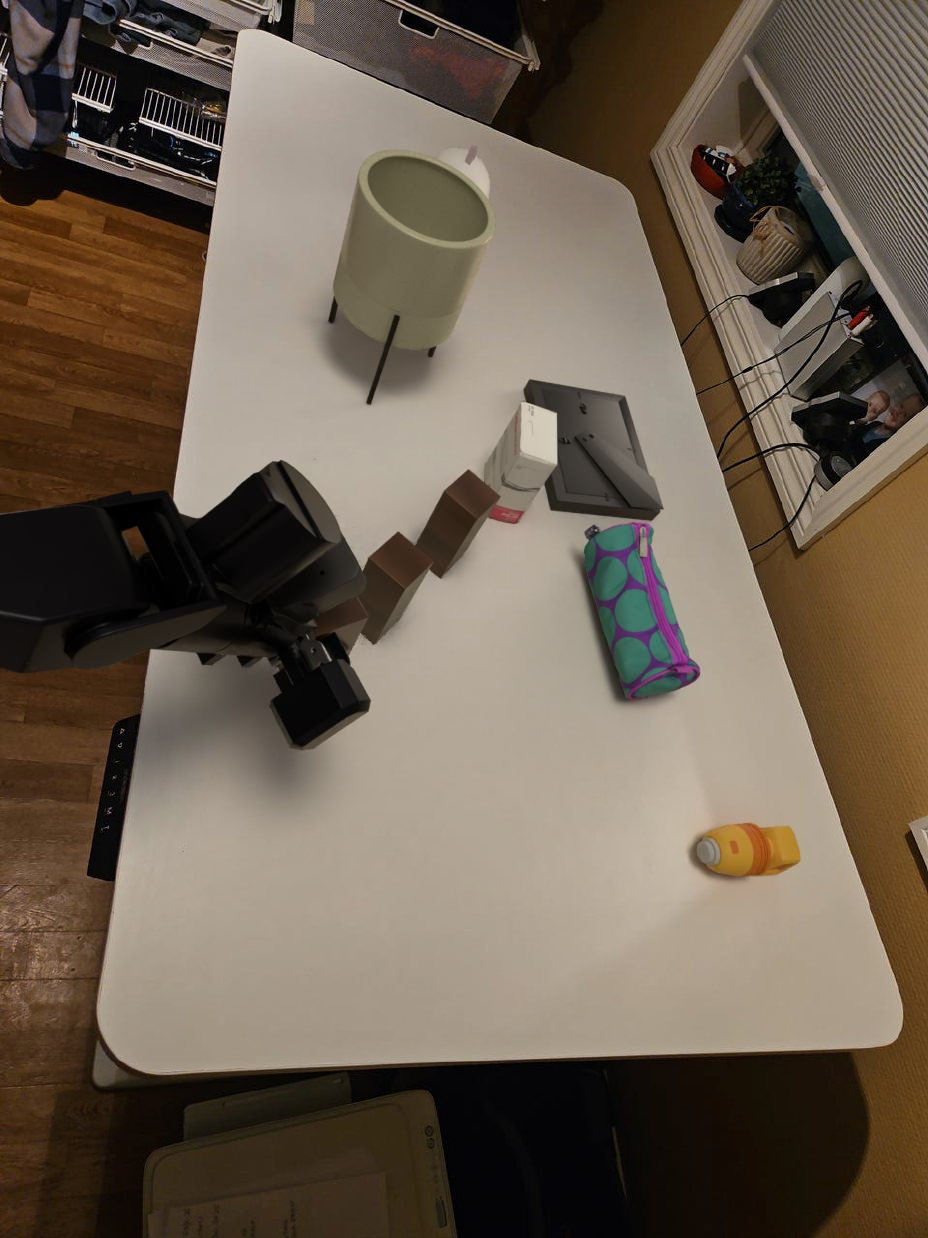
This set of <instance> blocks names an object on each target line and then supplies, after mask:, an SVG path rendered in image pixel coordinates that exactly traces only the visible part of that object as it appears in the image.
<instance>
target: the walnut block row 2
mask: <svg viewBox="0 0 928 1238" xmlns="http://www.w3.org/2000/svg"><path fill="white" fill-rule="evenodd" d="M500 497H501V496H500V495H499V494H497V493H496V492H495V491H494V490H493V489H492V488H490V487H489V486H488V485H487V484H486V483H484V480H482V479H481V478H480V477H479V476H478V475H476V474H475V473H474V472H473V471H472V470H470V469H467V470H466V471H465V472H463V473H462V474H461V475H459V476H458V477H457V478H456V479H455V480H454V481H453V482H452V483H451V484H450V485H448V486H447V487H446V488H445V489H444V490H443V492H442V493H441V495H440V497H439V499H438V501H437V502H436V504H435V507H434V508H433V511H432V512H431V514H430V517H429V518H428V519H427V522H426V524H425V526H424V528H423V530H422V531H421V533H420V535H419V537H418V539H417V541H416V542H415V544H414V545H415V546H416V547H417V548H419V549H420V550H421V551H422V552H423V553H424V554H426V555H427V556H428V557H429V558H430V559H431V560H433V561H434V562H433V564H432V566H431V567H430V569H429V571H431V572H432V573H433V574H435V576H437V577H438V578H439V579H442V578H443V577H444V576H445V574H447V573H448V572H449V571H450V570H451V569H452V568H453V567H454V566H455V565H456V564H457V563H458V562H459V561H460V560H461V559H462V558H463V557H464V555H465V554H466V552H467V550H468V549H469V547H470V545H471V544H472V542H473V541H474V539H475V538H476V536H477V535H478V533H479V531H480V530H481V529H482V527H483V525H484V523H485V522H486V521H487V519H488V518H489V517H488V516H489V514H490V513H491V511H492V510H493V508H494V507H495V505H496V504H497V502H498V500H499V499H500Z"/></svg>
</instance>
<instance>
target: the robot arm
mask: <svg viewBox="0 0 928 1238" xmlns="http://www.w3.org/2000/svg"><path fill="white" fill-rule="evenodd" d="M133 528H137V529H138V532H139V533H140V536H141V538H142V539H143V541H144V544H145V546H146V548H147V550H148V551H146V552H144V553H142V554H140V555H139V556H137V557H136V556H135V553H134V551H133V549H132V547H131V545H130V542H129V541H128V539H127V537H126V534H125V531H128V530H130V529H133ZM365 587H366V578H365V575H364V573H363V569H362V567H361V565H360V563H359V560H358V559H357V557H356V555H355V554H354V552H353V550H352V548H351V546H350V545H349V543H348V541H347V539H346V537H345V536H344V534H343V533H342V530H341V527H340V524H339V522H338V520H337V518H336V516H335V514H334V512H333V510H332V509H331V507H330V505H328V502H327V501H326V500H325V499H324V497H323V495H322V494H321V493H320V492H319V490H318V489H317V488H316V487H315V486H314V485H313V483H311V481H310V480H309V479H308V478H307V477H306V476H305V475H304V474H303V473H301V471H299V469H297V468H296V467H295V466H293V465H292V464H291V463H289V462H287V461H285V460H282V459H280V460H278V461H276V460H272V461H270V462H269V463H268V464H266V465H265V466H263V468H262V469H261V470H259V471H257V472H253V473H252V474H251V475H249V476H248V477H247V478H246V479H244V480H243V481H242V482H240V483H239V484H238V485H237V486H236V487H235V489H234V490H233V491H232V492H231V493H230V494H229V495H228V496H226V497H225V498H223V500H221V501H220V502H219V503H218V504H216V506H214V507H213V508H212V509H210V510H209V511H208V512H206V513H205V514H203V515H202V516H201V517H195V516H194V517H193V516H190V515H187V514H184V513H181V512H180V510H179V508H178V506H177V503H176V502H175V501H174V498H173V496H172V494H171V492H170V491H169V490H168V489H167V490H166V489H163V490H162V489H161V490H155V491H149V492H141V493H135V494H133V493H132V491H131V490H125V491H122V492H117V493H114V494H110V495H106V496H101V497H98V498H94V499H89V500H86V501H79V502H73V503H66V504H58V505H53V506H50V507H42V508H35V509H33V508H32V509H25V510H18V511H17V510H16V511H10V512H1V513H0V669H2V670H5V671H9V672H13V673H16V674H31V673H39V672H40V673H41V672H48V671H58V670H65V669H67V670H68V669H75V668H76V669H77V670H83V671H84V670H85V671H89V670H99V669H103V668H104V669H107V668H111V667H113V666H114V665H117V664H119V663H122V662H124V661H126V660H129V659H131V658H134V657H136V656H138V655H140V654H141V655H142V654H143V653H145V652H148V651H150V650H154V651H167V652H180V653H181V652H182V653H193V654H196V655H197V658H198V660H199V662H200V664H201V666H209V667H212V666H214V665H215V664H217V663H218V662H219V661H221V660H222V659H224V658H225V657H226V656H235V657H236V659H237V661H238V663H239V665H240V667H241V668H249V669H250V668H252V667H253V666H254V665H256V664H257V663H259V662H260V661H261V660H263V659H265V658H266V659H267V661H268V664H269V665H270V667H271V668H274V669H278V667H279V666H280V665H282V664H283V666H284V668H282V669H281V670H279V669H278V671H277V672H275V673H274V674H273V675H272V677H273V680H274V682H275V683H276V685H277V687H278V689H279V691H280V693H278V694H277V695H276V696H274V697H273V698H272V699H271V700H270V702H269V704H268V707H269V709H270V711H271V713H272V715H273V717H274V720H275V722H276V723H277V725H278V728H279V730H280V731H281V733H282V735H283V737H284V739H285V741H286V743H287V745H288V747H289V749H293V750H297V751H301V752H302V751H307V750H314V749H316V748H317V747H318V746H319V745H321V744H323V743H324V742H326V741H327V740H329V739H330V738H331V737H333V736H335V735H336V734H337V733H339V732H340V731H342V730H343V729H345V728H347V727H348V726H349V725H351V724H353V723H354V722H356V721H357V720H358V719H360V718H361V717H363V716H364V715H365V714H367V713H369V711H370V706H371V702H372V699H371V698H370V696H369V694H368V692H367V691H366V689H365V686H364V684H363V683H362V681H361V679H360V677H359V676H358V673H357V672H356V669H354V668H353V666H351V658H350V655H349V656H348V654H347V653H348V652H349V651H350V649H349V647H348V646H346V645H344V644H342V643H341V641H340V640H339V638H338V636H337V634H336V632H335V631H334V632H333V633H331V634H330V635H329V636H327V637H326V638H324V639H323V640H322V641H315V640H314V641H311V640H310V638H309V636H308V633H310V632H311V631H313V630H314V629H315V628H317V627H318V626H317V624H316V622H315V620H314V618H315V617H317V616H318V615H320V614H322V613H324V612H326V611H328V610H330V609H331V608H333V607H335V606H337V605H339V604H341V603H342V602H344V601H346V600H348V599H350V598H353V597H356V596H357V595H359V594H361V593H362V592H363V591H364V589H365ZM297 641H298V642H297Z"/></svg>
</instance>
